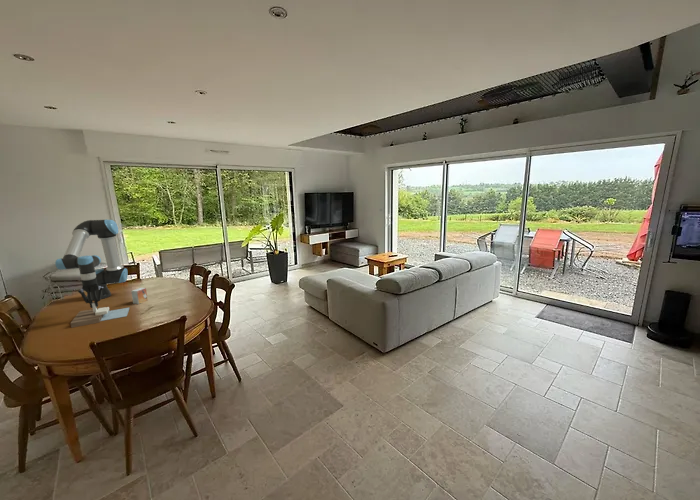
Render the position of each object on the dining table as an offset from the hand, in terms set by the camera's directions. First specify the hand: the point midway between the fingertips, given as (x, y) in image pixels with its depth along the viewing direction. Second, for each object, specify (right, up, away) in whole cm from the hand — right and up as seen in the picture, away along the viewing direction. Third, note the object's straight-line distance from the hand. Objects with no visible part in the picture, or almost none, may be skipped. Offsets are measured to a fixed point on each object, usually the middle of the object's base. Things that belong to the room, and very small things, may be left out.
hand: (95, 311), depth 194 cm
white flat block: (+3, -1, +2) cm, 4 cm away
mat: (+9, -3, +6) cm, 11 cm away
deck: (-3, -5, -1) cm, 6 cm away
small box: (+10, +1, +29) cm, 31 cm away
